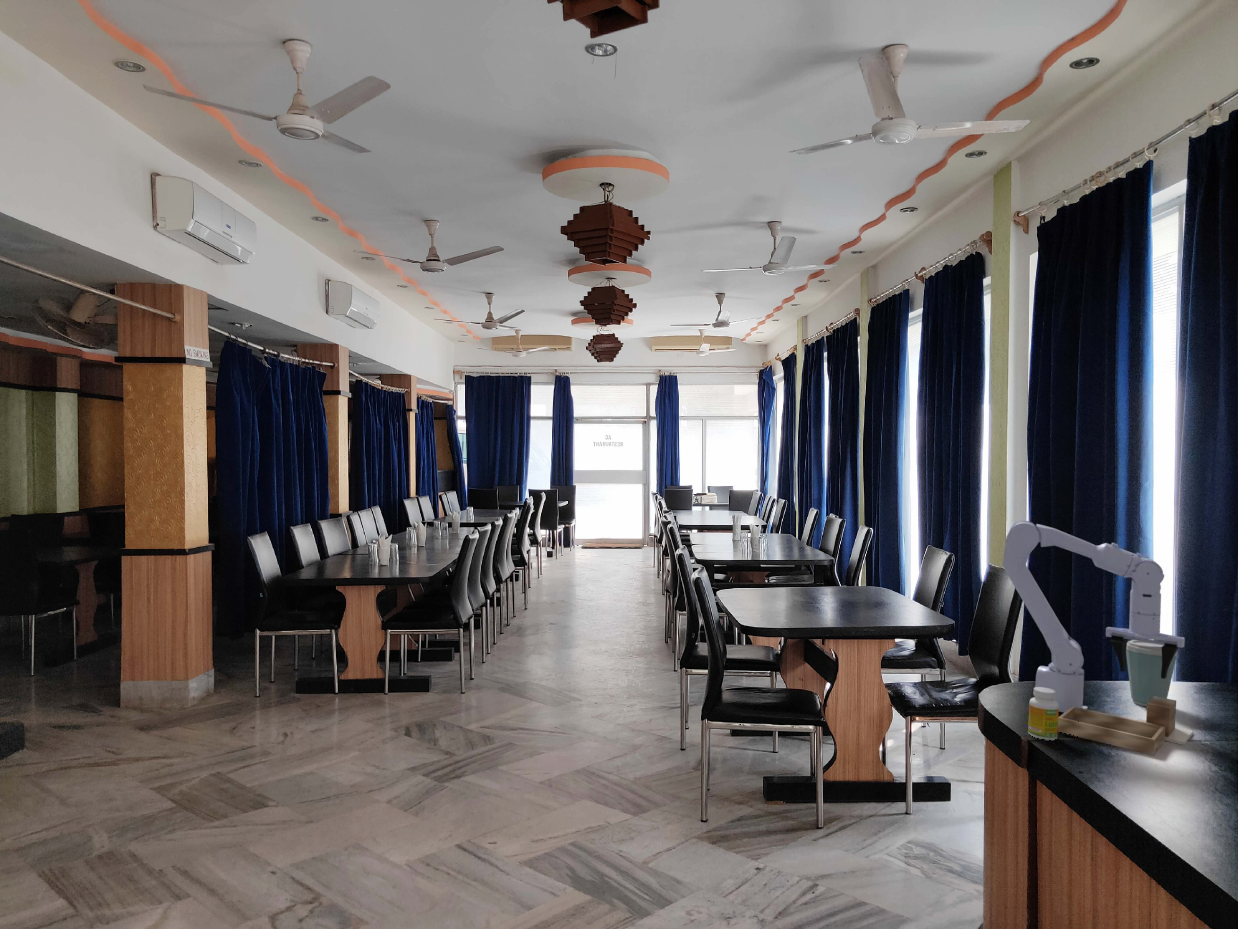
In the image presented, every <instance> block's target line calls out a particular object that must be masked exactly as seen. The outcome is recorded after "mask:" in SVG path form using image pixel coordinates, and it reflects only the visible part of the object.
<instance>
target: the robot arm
mask: <svg viewBox="0 0 1238 929" xmlns="http://www.w3.org/2000/svg"><path fill="white" fill-rule="evenodd" d="M1039 543H1040V547H1041V548H1043V547H1044V548H1045V547H1052V546H1053V547H1055V546H1056V547H1059V548H1060V549H1064V550H1067V551H1070V552H1073V553H1075V554H1079V555H1081V556H1084V557H1087V558H1089V559H1091V560H1092V562H1093V564H1094V566H1095V567H1097V568H1099V569H1102V570H1105V571H1107V572H1110V573H1113V574H1114V575H1117V576H1120V577H1122V578H1125V579H1126V578H1131V589H1130V592H1129V596H1130V597H1129V598H1130V599H1129V619H1128V620H1129V621H1128V622H1129V626H1128V628H1122V627H1114V626H1113V627H1111V626H1107V627H1106V628H1105V637H1106V638H1108V637H1109V638H1110V644H1111V647H1112V648H1113V649H1114V652H1115V655H1116V657H1117V660H1118V664H1119V671H1120V672H1125V671H1126V670H1127V656H1126V648H1127V642H1128V640H1130V641H1131V640H1138V641H1144V642H1151V643H1158V644H1164V646H1162V669H1161V678H1163V679H1165V678H1166V677H1167V672H1168V668H1169V665H1170V663H1171V661H1172V659H1173V657H1174V655H1175V653H1176V652H1178V650H1179V648H1184V647H1185V642H1186V641H1185V637H1183V636H1176V635H1171V634H1166V633H1161V613H1162V612H1161V608H1162V605H1161V604H1162V594H1161V589H1162V588H1161V587H1162V586H1161V583H1162V582H1163V580H1164V579H1165V574H1164V571H1163V568H1162V567H1161V566H1160V564H1158V562H1156V561H1155V560H1154V559H1151V558H1149V557H1148V556H1143V554H1142V553H1139V552H1136V553H1133V552H1130V551H1128V550H1125V549H1123V548H1120V547H1119V544H1117V543H1115V542H1111V544H1110V543H1108V542H1105V543H1101V544H1100V545H1095V544H1093V543H1091V542H1089V541H1087V540H1084V539H1082V538H1079V537H1076V536H1074V535H1072V534H1068V533H1067V532H1065V531H1061V530H1059V529H1057V528H1054V527H1052V526H1051V527H1050V526H1047V525H1043V524H1038V523H1036V524H1034V522H1032V521H1028V520H1020V521H1017V522H1015V523H1013V525H1012V526H1011V527H1010V529H1009V531H1008V533H1007V535H1006V537H1005V542H1004V550H1003V557H1002V558H1003V559H1002V568H1003V569H1004V571H1005V573H1006V575H1007V576H1008V578H1009V580H1010V582H1012V585H1013V586H1014V588H1015V590H1016V591H1017V594H1018V595H1019V597H1020V598H1021V600H1022V602H1023V604H1024V605H1025V607H1026V609H1027V611H1028V612H1029V614H1030V615H1031V618H1032V619H1033V621H1034V622H1035V624H1036V626H1037V627H1038V629H1039V631H1040V632H1041V634H1042V636H1043V638H1044V640H1045V643H1046V644H1047V647H1048V648H1049V650H1050V652H1051V653H1050V654H1051V662H1050V663H1049V664H1048V666H1045V665H1040V666H1038V668H1037V670H1036V674H1035V687H1044V688H1049V689H1052V690H1054V691H1055V699H1054V701H1056V702H1057V703H1058V705H1059V712H1060V713H1062V714H1063V713H1065V712H1066V711H1067V710H1068V709H1070V708H1071V707H1072V706H1074V707H1078V708H1083V709H1087V710H1089V709H1088V708H1089V707H1088V706H1086V705H1084V704H1083V703H1084V702H1083V701H1084V700H1083V699H1084V681H1085V670H1084V669H1083V665H1084V662H1085V661H1084V660H1085V659H1084V656H1083V654H1082V647H1081V645H1080V644H1079V642H1077V641H1076V640H1075V639H1074V638H1072V637H1070V635H1069V634H1068V632H1067V630H1066V629H1065V628H1064V626H1063V625H1062V624H1061V622H1060V620H1059V618H1058V617H1057V615H1056V614H1055V612H1054V610H1053V608H1052V607H1051V605H1050V603H1049V602H1048V600H1047V598H1046V595H1044V593H1043V592H1042V590H1041V588H1040V587H1039V585H1038V583H1037V582H1036V580H1035V578H1034V575H1032V573H1031V571H1030V569H1029V568H1028V566H1027V563H1028V560H1029V557H1030V554H1031V553H1032V551H1033V550H1034V549H1035V548H1036V546H1038V544H1039ZM1035 687H1034V688H1035Z"/></svg>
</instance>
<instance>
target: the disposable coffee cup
mask: <svg viewBox="0 0 1238 929" xmlns="http://www.w3.org/2000/svg"><path fill="white" fill-rule="evenodd" d="M1162 646H1164V644H1158V643H1151V642H1144V641H1138V640H1131V639H1130V640H1127V648H1126V666H1127V672H1128V680H1129V681H1128V683H1129V688H1130V698H1131V699H1132V702H1133V703H1134V704H1136V705H1139V706H1142V707H1146V708H1147V703H1148V702H1149V701H1150V700H1151V699H1152V698H1153V697H1154V696H1157V697H1162V698H1167V699H1168V696H1169V691H1170V686H1171V682H1172V679H1173V674H1174V669H1175V666H1176V662H1177V657H1178V655H1179V653H1178V652H1179V651H1177V652H1176V653H1175V655H1174V657H1173V659H1172V661H1171V663H1170V665H1169V668H1168V672H1167V677H1166V678H1165V679H1163V678H1161V669H1162Z"/></svg>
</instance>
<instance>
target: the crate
mask: <svg viewBox="0 0 1238 929" xmlns="http://www.w3.org/2000/svg"><path fill="white" fill-rule="evenodd" d="M1078 721H1079V722H1078ZM1060 732H1062V733H1061V734H1064V733H1066V734H1065V735H1069V734H1071V735H1070V736H1073V735H1074V736H1073V737H1077V736H1078V737H1077V738H1081V739H1086V740H1089V739H1090V741H1094V742H1098V743H1101V744H1107V745H1110V744H1111V745H1110V746H1115V747H1119V748H1123V749H1127V750H1132V751H1135V752H1139V753H1144V754H1147V755H1152V756H1155V754H1156V753H1157V751H1158V750H1159V749H1160V748H1161V747H1162V745H1163V744H1164V743H1165V742H1166V741H1165V726H1160V725H1156V724H1151V723H1146V722H1142V721H1137V719H1133V718H1127V717H1123V716H1118V715H1115V714H1109V713H1104V712H1100V711H1097V710H1091V709H1083V708H1078V707H1074V706H1072V707H1071V708H1070V709H1068V710H1067V711H1066V712H1065V713H1063V712H1062V714H1061V715H1059V716H1058V733H1060Z"/></svg>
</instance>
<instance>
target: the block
mask: <svg viewBox="0 0 1238 929" xmlns="http://www.w3.org/2000/svg"><path fill="white" fill-rule="evenodd" d="M1176 716H1177V699H1176V700H1175V699H1170V698H1168V697H1167V698H1162V697H1157V696H1154V697H1153V698H1152V699H1151V700H1150V701H1149V702H1148V703H1147V707H1146V716H1145V718H1146V719H1145V720H1146V723H1151V724H1156V725H1160V726H1165V737H1169V736H1170V734H1171V733H1172V732H1173V730H1174V729H1175V727H1176Z"/></svg>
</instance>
